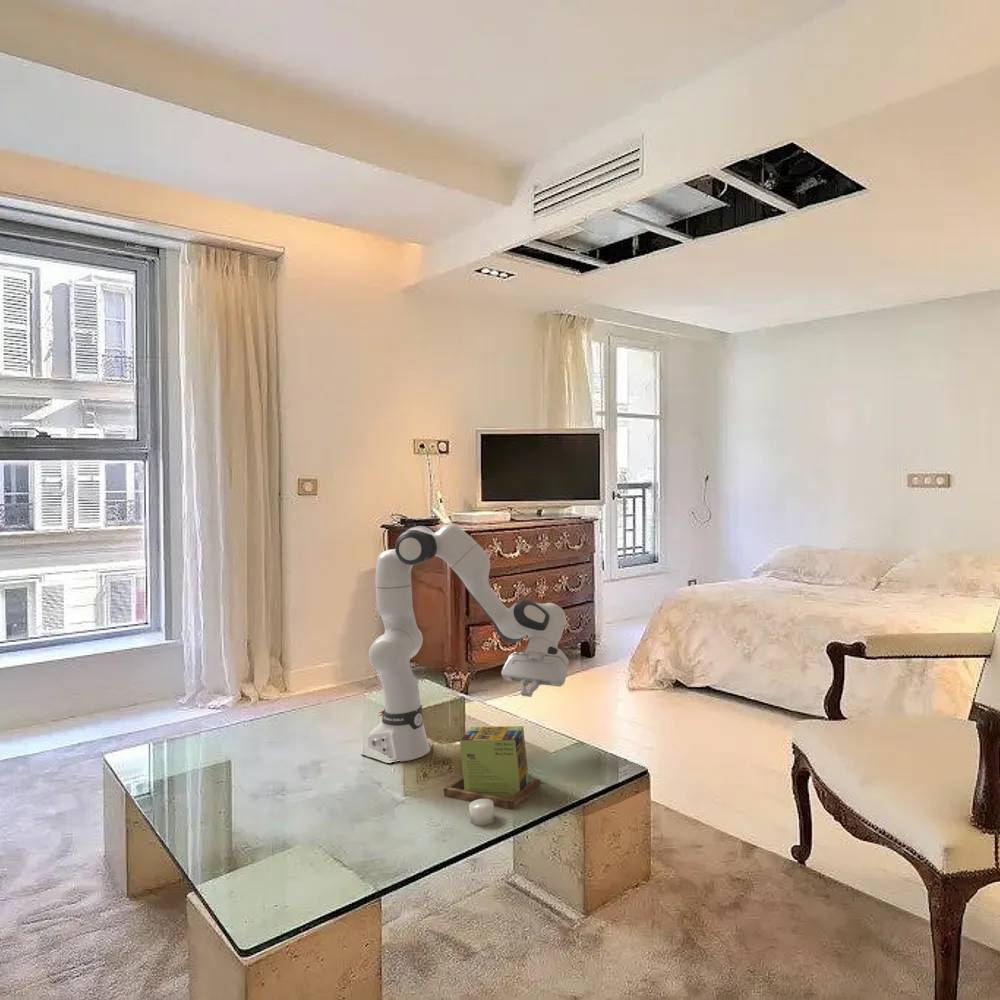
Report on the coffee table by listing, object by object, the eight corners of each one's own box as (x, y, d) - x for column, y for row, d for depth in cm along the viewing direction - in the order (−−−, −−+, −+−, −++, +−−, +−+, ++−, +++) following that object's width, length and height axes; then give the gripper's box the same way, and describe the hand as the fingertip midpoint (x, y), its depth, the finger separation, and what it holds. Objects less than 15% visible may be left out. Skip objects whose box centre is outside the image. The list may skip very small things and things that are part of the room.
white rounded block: (465, 823, 179) (464, 807, 179) (479, 812, 184) (478, 797, 184) (485, 827, 176) (484, 811, 176) (499, 816, 181) (498, 801, 181)
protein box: (521, 799, 190) (515, 739, 189) (464, 798, 193) (458, 740, 193) (529, 781, 200) (524, 725, 199) (475, 781, 204) (470, 726, 203)
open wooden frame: (444, 795, 196) (443, 788, 196) (475, 775, 208) (474, 768, 208) (512, 809, 184) (511, 801, 184) (540, 786, 196) (539, 779, 196)
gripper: (506, 645, 224) (491, 686, 217) (565, 650, 213) (551, 693, 205) (515, 656, 228) (500, 697, 221) (573, 661, 217) (560, 704, 209)
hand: (525, 695), depth 213 cm, fingers closed
